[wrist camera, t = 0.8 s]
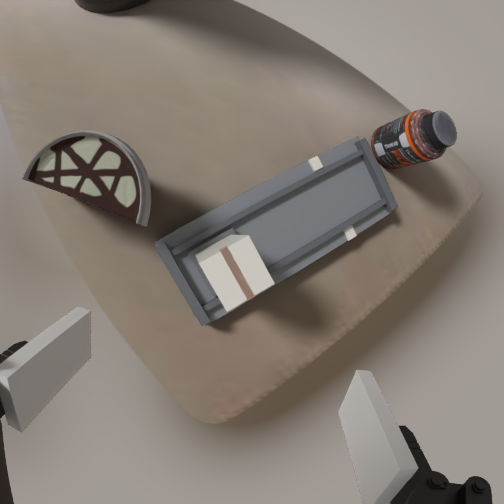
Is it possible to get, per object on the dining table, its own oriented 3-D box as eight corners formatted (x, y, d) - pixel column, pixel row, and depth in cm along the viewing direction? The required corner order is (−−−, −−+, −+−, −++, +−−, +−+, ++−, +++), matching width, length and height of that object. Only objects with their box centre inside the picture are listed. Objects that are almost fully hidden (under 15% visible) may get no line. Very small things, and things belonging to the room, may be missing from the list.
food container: (176, 174, 33) (173, 151, 23) (155, 228, 33) (143, 226, 23) (79, 139, 30) (46, 109, 21) (58, 190, 30) (17, 177, 21)
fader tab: (187, 252, 32) (189, 260, 22) (231, 227, 32) (251, 225, 23) (212, 294, 32) (224, 321, 23) (254, 270, 33) (283, 286, 23)
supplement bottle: (368, 164, 38) (426, 146, 27) (369, 122, 37) (423, 93, 26) (404, 174, 39) (464, 161, 28) (404, 133, 39) (460, 111, 28)
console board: (156, 242, 33) (153, 242, 30) (350, 140, 37) (363, 133, 34) (202, 321, 35) (204, 330, 31) (384, 211, 38) (399, 210, 35)
